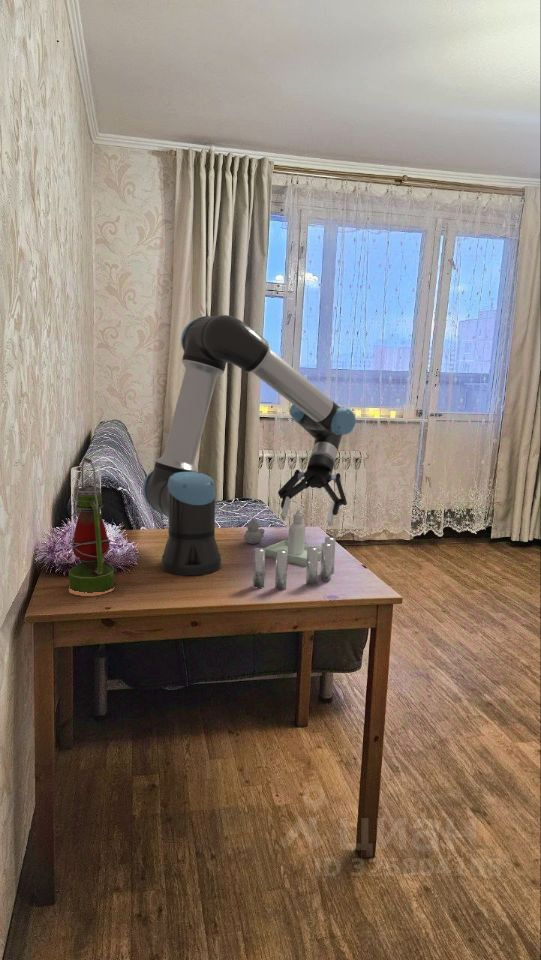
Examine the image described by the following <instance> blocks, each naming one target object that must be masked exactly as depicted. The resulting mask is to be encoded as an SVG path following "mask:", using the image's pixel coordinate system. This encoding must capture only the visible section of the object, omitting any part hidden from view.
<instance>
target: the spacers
mask: <svg viewBox="0 0 541 960" xmlns="http://www.w3.org/2000/svg"><path fill="white" fill-rule="evenodd" d="M317 547H318V546H315V547H308V548H307V566H306V570H305V571H306V574H305V576H306V577H305V585H306V586H307V587H316V586H317V585H318V569H319V568H318V567H319V565H318V564H319V563H318V548H317ZM263 548H264V547H263ZM263 548H262V547H255V548H254V549H253V568H252V569H253V573H252V574H253V579H252V587H253V586H254V587H257V588H256V589H262V588H261V587H263V588H265V568H266V566H265V565H266V564H265V561H266V557H265V549H263ZM321 548H322V549H321V560H320V571H319V572H320V574H319V575H320V577H319V579H320V581H322V582H331V581H332V575H333V574H334V573H335V559H336V558H335V555H336V537H334V536H326V537H324V542H322V543H321ZM287 571H288V562H287V550H277V551H276V559H275V576H274V577H275V580H274V581H275V582H274V583H275V584H274V585H275V586H274V589H275V588H276V589H275V590H277V589H278V590H277V591H285V590H287V574H288V572H287ZM254 587H253V588H254Z"/></svg>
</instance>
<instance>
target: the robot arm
mask: <svg viewBox="0 0 541 960" xmlns="http://www.w3.org/2000/svg"><path fill="white" fill-rule="evenodd" d="M180 341H181V344H180V345H181V347H182V350H183V355H182V357H181V358H182V359H181V363H182V364H183V366H184V367H185V368H184V375H183V378H182V382H181V386H180V388H179V393H178V397H177V401H176V405H175V407H174V413H173V416H172V420H171V424H170V428H169V432H168V435H167V440H166V443H165V447H164V450H163V454H162V456H161V457H159V458H157V459H156V460H155V462H154V463H155V464H154V466H153V470H152V471H151V472H149V473H148V474H147V475H146V477H145V478H144V480H143V484H142V493H143V498H144V499H145V501H146V503H147V504H148V505H149V506H150V507H151V508H152V509H153V510H154V511H156V512H158V514H161V515H162V514H163V515H164V516H166V517H168V523H167V524H168V537H167V541H166V544H165V547H164V551H163V554H162V556H161V568H162V570H163V571H165V572H167V573H171V574H174V575H179V576H199V575H200V576H202V575H206V574H210V573H213V572H216V571H218V570H220V569H221V567H222V555H221V553H220V551H219V547H218V543H217V541H216V540H217V539H216V534H215V531H216V530H215V528H216V526H215V523H216V521H215V520H216V495H217V494H216V485H215V480H213V478H212V477H211V476H209V475H207V474H205V473H201V472H199V470H198V468H197V466H196V465H195V464H196V463H195V462H196V458H197V454H198V451H199V447H200V443H201V439H202V436H203V432H204V427H205V424H206V420H207V417H208V412H209V409H210V406H211V402H212V397H213V393H214V389H215V386H216V382H217V379H218V377H219V376H222V375H223V374H224V373H225V369H226V367H227V363H228V364H231V365H233V366H236V367H238V368H239V369H241V370H242V371H244V372H245V373H247V374H248V373H252V374H254V375H255V376H256V377H257V378H259V380H262V382H264V383H265V384H266V385H268V387H270V388H271V389H272V390H274V391H275V392H277V393H278V394H279V395H280V396H282V397H283V398H285V399H286V400H287V401H288V402H289V403H291V404H292V405H291V406H290V408H289V415H290V416H291V418H292V419H293V421H295V422H296V424H299V426H300V427H301V428H302V429H304V430H305V431H306V432H307V433H308V434H309V435H310V436H311V437H313V438H314V443H313V446H312V450H311V453H310V457H309V461H308V463H307V467H306V470H305V471H304V472H303V471H300V470H299V469H296V470H295V471H294V474H293V475H292V476H291V477H290V479H288V481H287V482H286V483H285V484H284V485H283V486H282V487H281V488H279V490H278V491H277V494H278V496H279V499H282V500H281V504H280V507H281V514H280V518H281V520H282V521H284V522H285V521H286V519H287V516H288V512H289V509H290V506H291V502H292V501H291V499H292V498H294V497H295V496H296V495H298V494H300V493H301V492H302V491H304V490H305V489H308V488H309V487H310V489H311V488H312V489H322V488H323V489H324V490H325V492H327V494H328V496H329V498H331V500H332V501H331V503H330V507H329V511H328V514H327V519H326V522H327V526H328V527H332V524H333V519H334V517H335V516H338V513H339V509H340V506H347V504H348V503H347V498H346V495H345V492H344V489H343V486H342V476H341V473H339V472H338V473H336V474H333V471H334V467H335V463H336V459H337V455H338V451H339V447H340V443H341V440H342V438H343V436H346V435H349V434H350V433H351V432H353V429H354V428H355V425H356V416H355V413H354V411H352V410H351V409H350V408H346V407H344V406H342V407H341V406H339V405H338V404H337V403H336V402H334V401H333V400H332V399H331V398H329V396H327V395H326V394H324V393H323V391H321V390H320V389H319V388H317V386H315V385H314V384H313V383H312V382H310V381H309V380H308V379H307V378H305V376H303V375H302V374H301V373H299V372H298V370H296V369H295V368H293V366H291V365H290V364H289V363H288V362H286V361H285V360H284V359H283V358H281V357H280V356H279V355H278V354H277V353H276V352H275V351H274V350H272V349H271V347H270V343H269V341H267V340H266V339H265V338H264V337H263V336H262V335H261V334H259V332H257V331H256V330H255V329H253V328H252V327H251V326H249V325H248V324H247V323H246V322H244V321H242V320H240V319H239V318H237V317H235V316H231V315H227V314H224V315H223V314H222V315H214V316H213V315H211V316H210V315H206V316H205V315H203V316H200V317H197V318H195V319H192V320H191V321H190V322H188V324H186V326H185V327H184V329H183V331H182V334H181V337H180ZM331 481H333V482H334V483H335V484H336V487H337V490H338V493H339V497H340V498H339V497H338V496H337V495H336V492H335V491H334V490H333V488H332V486H331V485H330V484H329V483H331Z"/></svg>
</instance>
